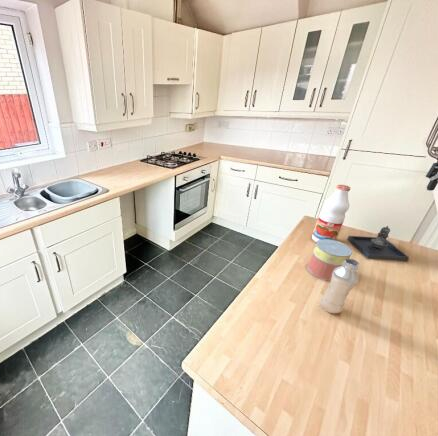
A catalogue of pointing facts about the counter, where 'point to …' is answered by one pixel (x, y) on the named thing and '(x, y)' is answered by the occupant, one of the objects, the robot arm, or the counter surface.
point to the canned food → (328, 258)
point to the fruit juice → (332, 215)
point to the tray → (387, 254)
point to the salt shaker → (380, 240)
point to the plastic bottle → (340, 286)
